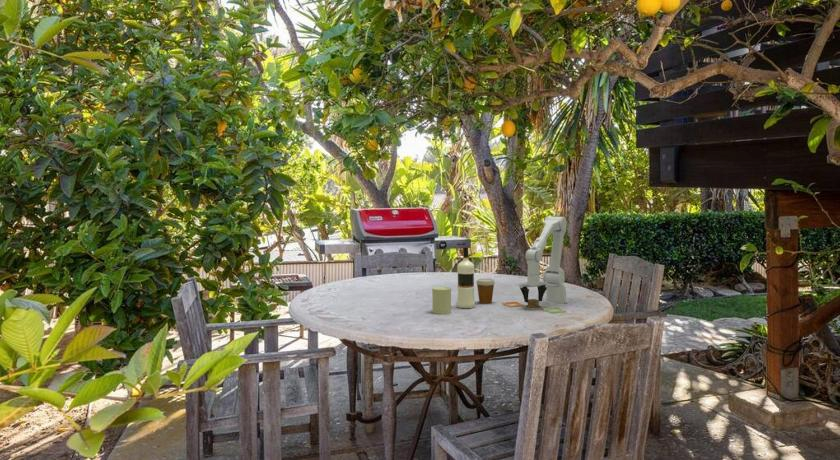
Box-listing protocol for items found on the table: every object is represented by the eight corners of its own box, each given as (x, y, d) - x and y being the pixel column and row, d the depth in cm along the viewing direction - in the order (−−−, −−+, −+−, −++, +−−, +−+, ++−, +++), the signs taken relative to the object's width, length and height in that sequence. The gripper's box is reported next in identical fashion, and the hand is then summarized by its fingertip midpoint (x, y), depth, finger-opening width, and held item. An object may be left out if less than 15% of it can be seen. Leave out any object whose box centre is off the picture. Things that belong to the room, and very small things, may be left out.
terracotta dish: (516, 303, 296) (516, 301, 296) (524, 306, 288) (524, 304, 288) (502, 304, 293) (502, 302, 293) (509, 308, 286) (509, 305, 286)
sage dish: (557, 309, 282) (557, 307, 282) (566, 312, 274) (566, 310, 274) (542, 310, 279) (542, 308, 279) (551, 314, 272) (551, 311, 271)
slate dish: (536, 306, 289) (536, 304, 289) (544, 309, 281) (544, 307, 281) (522, 307, 286) (522, 305, 286) (530, 311, 279) (530, 308, 279)
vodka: (453, 307, 288) (452, 247, 286) (462, 304, 296) (462, 245, 293) (469, 309, 283) (469, 248, 280) (478, 306, 290) (478, 246, 288)
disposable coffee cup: (494, 305, 292) (494, 281, 292) (475, 304, 294) (475, 281, 293) (495, 301, 302) (495, 278, 301) (477, 301, 304) (477, 278, 303)
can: (453, 313, 275) (453, 288, 274) (434, 314, 274) (434, 289, 273) (449, 309, 284) (449, 285, 283) (430, 310, 283) (430, 285, 282)
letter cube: (534, 306, 286) (534, 298, 286) (539, 308, 282) (539, 300, 282) (527, 307, 285) (527, 299, 285) (531, 309, 281) (531, 300, 281)
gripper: (542, 272, 288) (542, 299, 289) (516, 273, 284) (516, 301, 285) (550, 274, 282) (549, 301, 283) (523, 275, 277) (522, 303, 278)
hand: (533, 301), depth 283 cm, fingers open, 7 cm apart
